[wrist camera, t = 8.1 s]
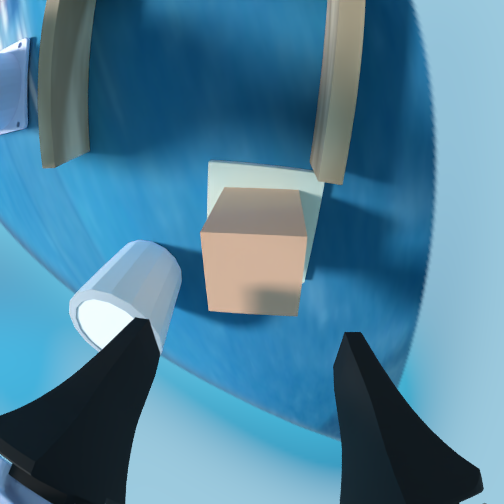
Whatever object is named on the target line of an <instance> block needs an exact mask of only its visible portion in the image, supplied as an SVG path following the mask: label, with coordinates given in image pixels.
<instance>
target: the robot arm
mask: <svg viewBox="0 0 504 504" xmlns="http://www.w3.org/2000/svg"><path fill="white" fill-rule="evenodd" d="M21 45H22V46H21ZM29 48H30V38H24V39H22V40H20V41H18V42H16V43H14V44H12V45H10V46H8V47H7V48H5V49H3V50H1V51H0V135H1V134H5V133H9V132H13V131H17V130H21V129H25V128H26V127H27V125H28V109H27V81H28V60H29ZM159 357H160V351H159V348H158V345H157V342H156V339H155V336H154V333H153V330H152V327H151V323H150V320H149V319H144V318H137V317H135V318H134V319H133V320H132V321H131V322H130V323H129V324H128V325H127V326H126V327H125V328H123V329H122V330H121V331H120V332H119V333H118V334H117V335H116V336H115V337H114V338H113V339H112V340H111V341H110V342H109V343H108V344H107V345H106V346H105V347H104V348H103V349H102V350H101V351H100V352H99V353H98V354H97V355H96V356H94V357H93V358H92V359H91V360H90V361H89V362H88V363H87V364H85V365H84V366H83V367H82V368H81V369H80V370H79V371H77V372H76V373H75V374H74V375H72V376H71V377H70V378H68V379H67V380H66V381H64V382H63V383H62V384H60V385H59V386H57V387H56V388H54V389H53V390H51V391H49V392H48V393H46V394H45V395H43V396H42V397H40V398H38V399H37V400H35V401H33V402H31V403H29V404H27V405H25V406H23V407H21V408H18V409H16V410H14V411H11V412H9V413H6V414H3V415H1V416H0V454H1V455H2V456H4V457H5V458H6V459H8V460H9V461H10V462H12V464H10V463H9V462H8V461H6V460H5V459H3V458H2V457H1V456H0V504H125V496H126V481H127V473H128V465H129V459H130V453H131V448H132V443H133V438H134V433H135V430H136V426H137V423H138V420H139V417H140V414H141V412H142V409H143V406H144V404H145V401H146V399H147V396H148V393H149V391H150V388H151V385H152V383H153V380H154V377H155V374H156V370H157V366H158V362H159ZM333 370H334V392H335V399H336V405H337V412H338V419H339V426H340V434H341V443H342V479H341V480H342V481H341V495H340V504H459V502H461V501H464V500H466V499H468V498H470V497H473V496H475V495H477V494H479V493H481V492H482V491H483V489H484V488H483V483H482V477H481V473H480V470H479V468H477V467H476V466H474V465H472V464H471V463H470V462H468V461H467V460H465V459H464V458H462V457H461V456H460V455H458V454H457V453H456V452H454V450H452V449H451V448H450V447H449V446H448V445H446V444H445V443H444V442H443V441H442V440H441V439H440V438H439V437H438V436H437V435H436V434H435V433H434V432H433V431H432V430H431V429H430V428H429V427H428V426H427V425H426V424H425V423H424V422H423V421H422V420H421V419H420V417H419V416H418V415H417V414H416V413H415V412H414V410H413V409H412V408H411V407H410V406H409V404H408V403H407V402H406V400H405V399H404V398H403V396H402V395H401V394H400V392H399V391H398V389H397V388H396V387H395V385H394V384H393V382H392V381H391V379H390V378H389V376H388V375H387V373H386V372H385V370H384V369H383V367H382V366H381V364H380V363H379V361H378V359H377V358H376V356H375V355H374V353H373V351H372V350H371V348H370V346H369V345H368V343H367V341H366V340H365V338H364V336H363V335H362V333H361V332H345V333H344V336H343V339H342V342H341V345H340V348H339V351H338V354H337V357H336V360H335V363H334V366H333ZM484 504H486V503H484Z"/></svg>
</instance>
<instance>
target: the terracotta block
mask: <svg viewBox="0 0 504 504" xmlns="http://www.w3.org/2000/svg"><path fill="white" fill-rule="evenodd" d="M200 233H201V244H202V255H203V264H204V274H205V283H206V292H207V300H208V309H209V311H217V312H230V313H244V314H260V315H280V316H297V315H298V308H299V301H300V294H301V286H302V279H303V271H304V263H305V254H306V245H307V231H306V226H305V220H304V215H303V209H302V204H301V199H300V194H299V190H292V189H271V188H240V187H224V189H223V191H222V192H221V194H220V196H219V198H218V200H217V202H216V204H215V205H214V207H213V209H212V211H211V213H210V215H209V217H208V219H207V220H206V222H205V224H204V226H203V228H202V230H201V232H200Z"/></svg>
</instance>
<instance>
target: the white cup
mask: <svg viewBox="0 0 504 504" xmlns="http://www.w3.org/2000/svg"><path fill="white" fill-rule="evenodd" d="M181 283H182V275H181V269H180V267H179V265H178V263H177V260H176V258H175V257H174V256H173V255H172V254H171V253H170V252H169V251H168V250H167V249H166V248H164V247H162V246H160V245H158V244H156V243H154V242H152V241H145V240H137V241H133V242H130V243H128V244H127V245H125V246H124V247H123V248H122V249H121V250H120V251H119V252H118V253H117V254H116V255H115V256H114V257H112V258H111V259H110V260H109V261H108V262H107V263H106V264H105V265H104V266H103V267H102V268H101V269H100V270H99V271H98V272H97V273H96V274H95V275H94V276H93V277H92V278H91V279H90V280H89V281H88V282H87V283H85V284H84V285H83V286H82V287H81V289H80V290H79V291H78V292H77V293H76V294H75V295H74V296H73V297H72V299H71V300H70V304H69V314H70V317H71V319H72V322H73V324H74V326H75V328H76V329H77V331H78V332H79V333H80V335H81V336H82V337H83V338H84V340H85V341H86V342H87V343H89V344H90V345H91V346H92V347H93V348H95V349H96V350H97V351H98V352H100V351H101V350H102V349H103V348H104V347H105V346H106V345H107V344H108V343H109V342H110V341H111V340H112V339H113V338H114V337H115V336H116V335H117V334H118V333H119V332H120V331H121V330H122V329H123V328H125V327H126V326H127V325H128V324H129V323H130V322H131V321H132V320H133V319H134V318H135V317H137V318H144V319H149V320H150V323H151V327H152V330H153V333H154V336H155V339H156V342H157V345H158V348H159V351H160V354H161V352H162V350H163V346H164V343H165V339H166V335H167V331H168V328H169V324H170V321H171V317H172V313H173V310H174V306H175V303H176V300H177V296H178V293H179V289H180V286H181Z"/></svg>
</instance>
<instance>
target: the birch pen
mask: <svg viewBox="0 0 504 504" xmlns="http://www.w3.org/2000/svg"><path fill="white" fill-rule="evenodd" d="M95 5H96V0H47V2H46V7H45V13H44V19H43V26H42V33H41V42H40V52H39V66H38V124H39V139H40V150H41V159H42V167H43V168H55V167H57V166H59V165H61V164H63V163H66V162H68V161H70V160H72V159H74V158H76V157H78V156H80V155H83V154H85V153H87V152H89V151H90V145H89V124H88V78H89V58H90V45H91V35H92V26H93V18H94V11H95ZM364 18H365V0H328V2H327V16H326V28H325V40H324V50H323V60H322V70H321V79H320V88H319V96H318V105H317V113H316V120H315V128H314V135H313V143H312V150H311V157H310V164H311V166H312V168H313V171H314V173H315V175H316V178H317V180H318V181H319V182H325V183H332V184H338V185H342V184H343V178H344V173H345V168H346V162H347V157H348V151H349V145H350V139H351V133H352V127H353V121H354V114H355V107H356V100H357V92H358V84H359V75H360V66H361V56H362V46H363V33H364Z"/></svg>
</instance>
